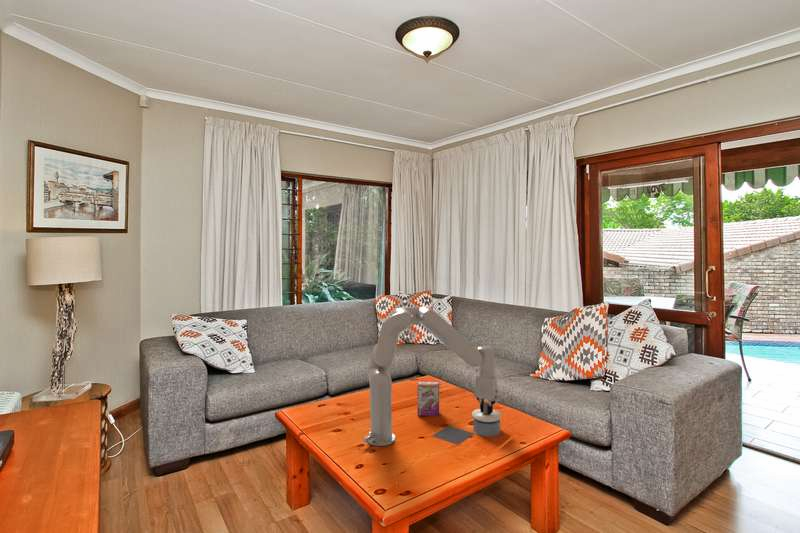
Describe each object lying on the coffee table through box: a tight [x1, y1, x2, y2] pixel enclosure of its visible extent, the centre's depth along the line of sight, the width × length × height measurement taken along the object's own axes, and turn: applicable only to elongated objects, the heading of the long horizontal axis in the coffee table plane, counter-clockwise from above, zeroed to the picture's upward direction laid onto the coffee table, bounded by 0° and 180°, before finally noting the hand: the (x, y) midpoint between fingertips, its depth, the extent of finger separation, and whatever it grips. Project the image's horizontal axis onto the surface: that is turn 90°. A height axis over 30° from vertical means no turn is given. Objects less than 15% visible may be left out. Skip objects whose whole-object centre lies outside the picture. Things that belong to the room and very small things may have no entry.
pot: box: [472, 417, 501, 438], centre depth 191 cm, size 12×12×6 cm
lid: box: [471, 401, 502, 422], centre depth 191 cm, size 13×13×6 cm
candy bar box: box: [417, 381, 440, 417], centre depth 212 cm, size 11×5×16 cm, turn 84°
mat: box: [431, 425, 476, 446], centre depth 188 cm, size 14×14×1 cm
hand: (486, 412), depth 191 cm, fingers closed on lid, 3 cm apart
